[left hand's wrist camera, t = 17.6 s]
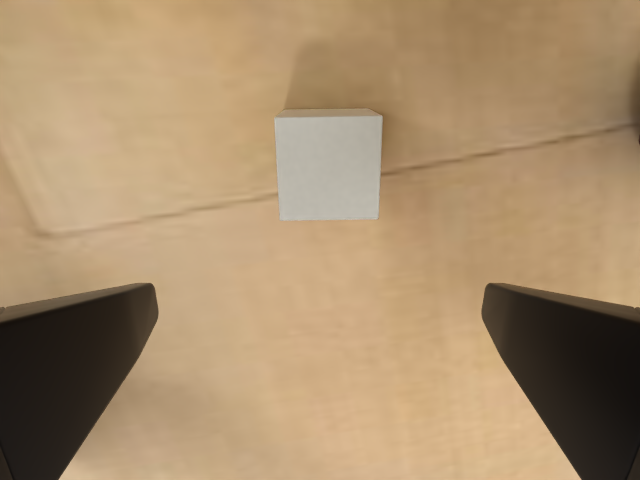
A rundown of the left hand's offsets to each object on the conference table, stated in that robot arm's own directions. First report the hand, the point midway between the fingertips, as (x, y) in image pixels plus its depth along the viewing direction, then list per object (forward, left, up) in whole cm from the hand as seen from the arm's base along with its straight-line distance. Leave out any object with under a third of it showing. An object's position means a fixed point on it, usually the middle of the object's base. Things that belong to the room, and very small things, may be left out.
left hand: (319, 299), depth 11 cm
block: (-2, +2, -11) cm, 11 cm away
